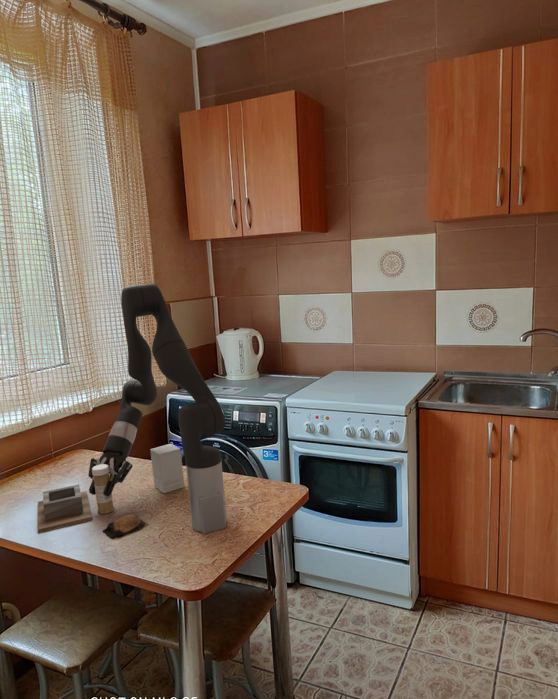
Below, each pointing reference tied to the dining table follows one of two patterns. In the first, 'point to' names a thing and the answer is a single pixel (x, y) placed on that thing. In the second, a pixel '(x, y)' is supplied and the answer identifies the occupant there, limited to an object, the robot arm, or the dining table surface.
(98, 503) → the sprinkles bottle
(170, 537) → the dining table surface
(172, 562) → the dining table surface
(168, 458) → the supplement box
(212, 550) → the dining table surface
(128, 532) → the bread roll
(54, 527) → the collar board
